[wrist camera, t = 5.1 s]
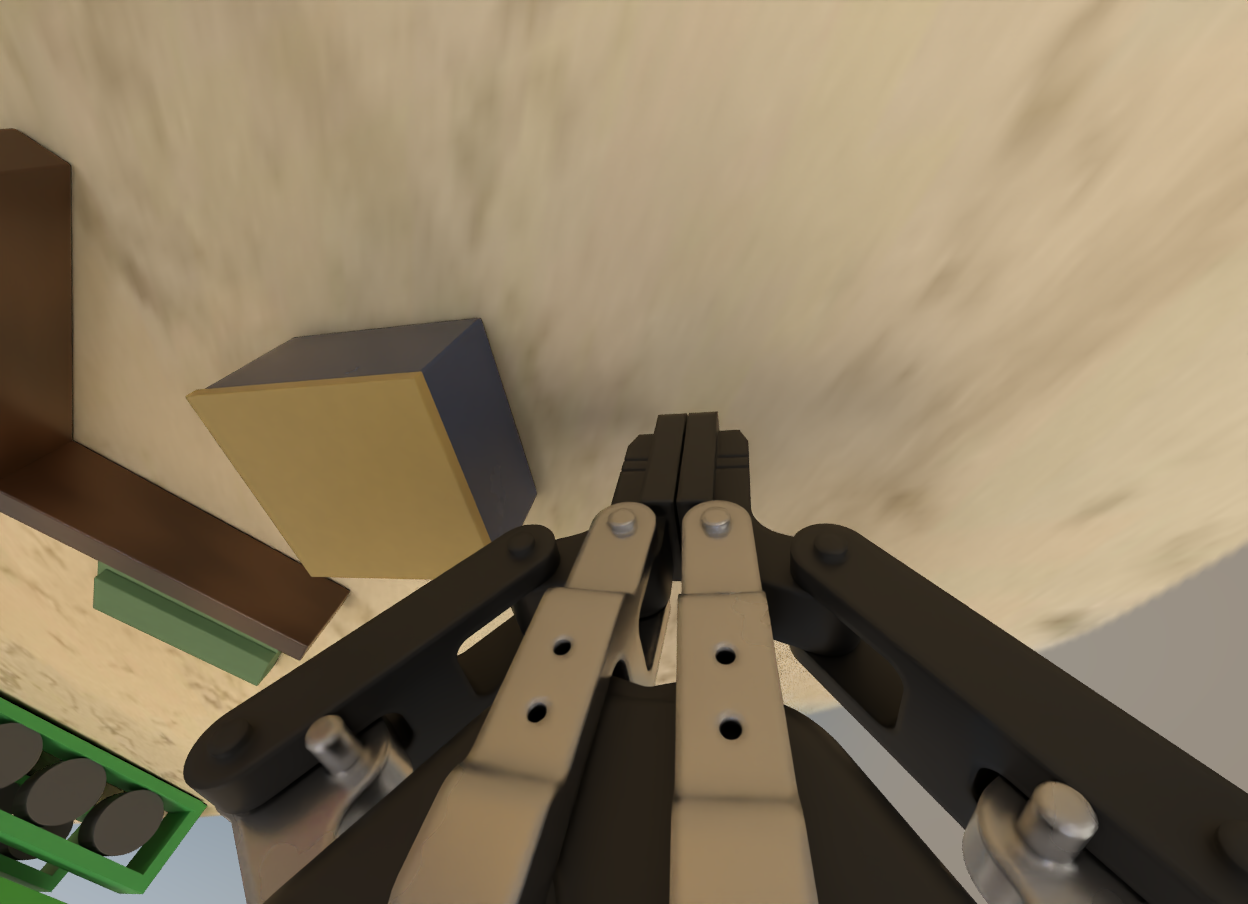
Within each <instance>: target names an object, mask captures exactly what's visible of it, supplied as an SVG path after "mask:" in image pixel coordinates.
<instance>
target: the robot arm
mask: <svg viewBox="0 0 1248 904" xmlns="http://www.w3.org/2000/svg"><path fill="white" fill-rule="evenodd" d="M624 460H625V461H624V462H623V465H622V469H621V470H622V471H621V472H620V476H619V479H618V483H617V486H616V489H615V493H614V496H613V500H612V503H611V506H609V507H607V508H605V509H603V510H602V511H600V512H599V513H598V514H597V515H596V516H595V518H594V519H593V521H592V523H591V526H590V528H589V530H588V531H586V532H583V533H580V534H577V535H573V536H569V537H565V538H561V539H557V540H555V537H554V534H553V533H552V531H551V530H550V529H548V528H546V527H544V526H541V525H533V524H531V525H524V526H520V527H516V528H514V529H512V530H510V531H508V532H506V533H505V534H503V535H501V536H500V537H498V538H497V539H495V540H494V541H492V542H491V543H489V544H487V545H486V546H484V547H483V548H481V549H480V550H478V551H477V552H475V553H474V554H472V555H470V556H469V557H467V558H466V559H464V560H463V561H461V562H460V563H458V564H457V565H455V566H453V567H452V568H450V569H449V570H447V571H446V572H444V573H443V574H441V575H440V576H438V577H436V578H435V579H433V580H432V581H430V582H429V583H427V584H426V585H424V586H423V587H421V588H419V589H418V590H416V591H415V592H413V593H412V594H410V595H409V596H407V597H406V598H404V599H402V600H401V601H399V602H398V603H396V604H395V605H393V606H392V607H390V608H389V609H387V610H385V611H384V612H382V613H381V614H379V615H378V616H376V617H375V618H373V619H371V620H370V621H368V622H367V623H365V624H364V625H362V626H361V627H359V628H358V629H356V630H354V631H353V632H351V633H350V634H348V635H347V636H345V637H344V638H342V639H341V640H339V641H337V642H336V643H334V644H333V645H331V646H330V647H328V648H327V649H325V650H324V651H322V652H320V653H319V654H317V655H316V656H314V657H313V658H311V659H310V660H308V661H307V662H305V663H303V664H302V665H300V666H299V667H297V668H296V669H294V670H293V671H291V672H290V673H288V674H286V675H285V676H283V677H282V678H280V679H279V680H277V681H276V682H274V683H273V684H271V685H269V686H268V687H266V688H265V689H263V690H262V691H260V692H259V693H257V694H256V695H254V696H252V697H251V698H249V699H248V700H246V701H245V702H243V703H242V704H240V705H238V706H237V707H235V708H234V709H232V710H231V711H229V712H228V713H226V714H225V715H223V716H222V717H221V718H219V719H218V720H217V721H216V722H214V723H213V724H212V725H211V726H210V727H209V728H208V729H207V730H206V731H205V732H204V733H203V734H202V735H201V736H200V738H199V739H198V740H197V742H196V743H195V744H194V746H193V747H192V749H191V751H190V752H189V754H188V757H187V759H186V762H185V765H184V771H183V775H184V780H185V782H186V783H187V784H188V785H189V786H190V787H191V788H192V789H194V790H195V791H196V792H197V793H199V794H200V795H201V796H203V797H204V798H205V799H206V800H208V801H209V802H210V803H212V804H213V805H214V806H215V808H216V810H217V811H218V812H219V813H220V814H221V815H222V816H223V817H225V818H226V819H227V820H229V821H230V822H231V823H232V828H233V833H234V838H235V844H236V849H237V854H238V860H239V864H240V870H241V876H242V881H243V886H244V891H245V897H246V902H247V904H977V903H976V902H975V901H974V899H973V898H972V897H971V896H970V895H969V894H968V893H967V891H966V890H965V889H964V888H963V887H962V886H961V884H960V883H959V882H958V881H957V880H956V879H955V878H954V876H953V875H952V874H951V873H950V872H949V870H948V869H947V868H946V867H945V866H944V865H943V864H942V862H941V861H940V860H939V859H938V858H937V857H936V856H935V854H934V853H933V852H932V851H931V850H930V848H929V847H928V846H927V845H926V844H925V843H924V842H923V840H922V839H921V838H920V837H919V836H918V835H917V833H916V832H915V831H914V830H913V829H912V828H911V827H910V825H909V824H908V823H907V822H906V821H905V820H904V818H903V817H902V816H901V815H900V814H899V813H898V811H897V810H896V809H895V808H894V807H893V806H892V805H891V803H890V802H889V801H888V800H887V799H886V797H885V796H884V795H883V794H882V793H881V792H880V790H878V788H877V787H876V786H875V785H874V784H873V782H872V781H871V780H870V779H869V778H868V777H867V775H866V774H865V773H864V772H863V771H862V770H861V768H860V767H859V766H858V765H857V764H856V763H855V761H854V760H853V759H852V758H851V757H850V756H849V755H848V753H847V752H846V751H845V750H844V749H843V748H842V746H841V745H840V744H839V743H838V742H837V741H836V740H835V739H834V738H833V737H832V736H831V735H830V734H829V733H827V732H826V731H825V730H824V729H823V728H822V727H820V726H819V725H818V724H817V723H815V722H814V721H812V720H811V719H810V718H808V717H807V716H805V715H803V714H802V713H800V712H798V711H796V710H795V709H793V708H790V707H788V706H786V705H784V704H783V698H782V691H781V685H780V679H779V673H778V666H777V660H776V654H775V648H774V642H773V640H776V641H779V642H782V643H785V644H788V645H790V649H791V652H792V653H793V655H794V657H795V658H796V659H797V660H798V661H799V662H800V663H801V664H802V665H803V666H804V667H805V668H806V669H807V670H808V671H809V672H810V673H811V674H812V675H813V676H814V677H815V678H816V679H817V680H818V681H819V682H820V683H821V684H822V686H823V687H824V688H825V689H826V690H827V691H828V692H829V693H830V694H831V695H832V696H833V697H834V698H835V699H836V700H837V701H838V702H839V703H840V704H841V705H842V706H843V707H844V708H845V709H846V710H847V711H848V712H849V713H850V714H851V715H852V716H853V717H854V718H855V719H856V720H857V721H858V722H859V723H860V724H861V725H862V726H863V727H864V728H865V729H866V730H867V731H868V732H869V733H870V734H871V735H872V736H873V737H874V738H875V739H876V740H877V741H878V742H879V743H880V744H881V745H882V746H883V747H884V748H885V749H886V750H887V751H888V752H889V753H890V754H891V755H892V756H893V757H894V758H895V759H896V760H897V761H898V762H899V763H900V764H901V766H903V768H904V769H905V770H907V771H908V773H909V774H910V775H911V776H912V777H913V778H914V779H915V780H916V781H917V782H918V783H919V784H920V785H921V786H922V787H923V788H924V789H925V790H926V791H927V792H928V793H929V794H930V795H931V796H932V797H933V798H934V799H935V800H936V801H937V802H938V803H939V804H940V805H941V806H942V807H943V808H944V809H945V810H946V811H947V812H948V813H949V814H950V815H951V816H952V817H953V818H954V819H955V820H956V821H957V822H958V823H959V824H960V825H961V826H962V827H963V828H964V829H965V832H964V836H963V841H962V843H963V844H962V850H963V856H964V861H965V865H966V867H967V870H968V873H969V875H970V877H971V879H972V881H973V883H974V884H975V886H976V888H977V889H978V891H979V892H980V893H981V895H982V896H983V898H984V899H985V900H986V901H987V903H988V904H1248V793H1246V792H1245V791H1243V790H1242V789H1240V788H1239V787H1237V786H1236V785H1234V784H1232V783H1231V782H1230V781H1228V780H1226V779H1225V778H1224V777H1222V776H1221V775H1219V774H1218V773H1216V772H1215V771H1213V770H1212V769H1210V768H1209V767H1207V766H1206V765H1204V764H1203V763H1201V762H1200V761H1198V760H1197V759H1195V758H1194V757H1192V756H1190V755H1189V754H1188V753H1186V752H1185V751H1183V750H1182V749H1180V748H1179V747H1177V746H1176V745H1174V744H1173V743H1171V742H1170V741H1168V740H1167V739H1165V738H1164V737H1162V736H1161V735H1159V734H1158V733H1156V732H1155V731H1153V730H1152V729H1150V728H1149V727H1147V726H1146V725H1144V724H1143V723H1141V722H1140V721H1138V720H1137V719H1135V718H1134V717H1132V716H1131V715H1129V714H1128V713H1126V712H1125V711H1123V710H1122V709H1120V708H1119V707H1117V706H1116V705H1114V704H1113V703H1111V702H1110V701H1108V700H1107V699H1105V698H1104V697H1102V696H1101V695H1099V694H1098V693H1096V692H1095V691H1093V690H1092V689H1090V688H1089V687H1088V686H1086V685H1084V684H1083V683H1081V682H1080V681H1078V680H1077V679H1076V678H1074V677H1072V676H1071V675H1070V674H1068V673H1066V672H1065V671H1063V670H1062V669H1060V668H1059V667H1057V666H1056V665H1054V664H1053V663H1051V662H1050V661H1049V660H1047V659H1045V658H1044V657H1043V656H1041V655H1040V654H1038V653H1037V652H1035V651H1034V650H1032V649H1031V648H1029V647H1028V646H1026V645H1025V644H1023V643H1022V642H1020V641H1019V640H1017V639H1016V638H1014V637H1013V636H1011V635H1010V634H1008V633H1007V632H1005V631H1004V630H1002V629H1001V628H999V627H998V626H996V625H995V624H993V623H992V622H990V621H989V620H987V619H986V618H984V617H983V616H981V615H980V614H978V613H977V612H975V611H974V610H972V609H971V608H969V607H968V606H966V605H965V604H963V603H962V602H960V601H959V600H957V599H956V598H954V597H953V596H951V595H950V594H948V593H947V592H945V591H944V590H942V589H941V588H939V587H938V586H936V585H935V584H933V583H932V582H930V581H929V580H927V579H926V578H924V577H923V576H921V575H920V574H918V573H917V572H915V571H914V570H912V569H911V568H909V567H908V566H907V565H905V564H904V563H902V562H901V561H899V560H898V559H896V558H895V557H893V556H892V555H890V554H889V553H887V552H886V551H884V550H883V549H881V548H880V547H878V546H877V545H875V544H874V543H872V542H871V541H869V540H868V539H866V538H865V537H863V536H862V535H860V534H859V533H857V532H855V531H854V530H852V529H849V528H847V527H844V526H840V525H835V524H816V525H811V526H808V527H806V528H803V529H802V530H800V531H799V532H797V533H796V534H795V536H794V537H792V536H788V535H784V534H780V533H777V532H774V531H771V530H769V529H767V528H766V527H764V526H763V525H761V524H760V523H759V522H758V521H757V520H756V519H755V517H754V516H753V514H752V511H751V497H750V472H749V446H748V440H747V439H746V438H745V436H744V435H743V434H742V433H741V432H740V430H727V431H719V419H718V412H700V413H689V414H688V415H687V413H683V414H665V415H658V418H657V422H656V427H655V431H654V434H643V435H638V437H637V438H636V439H635V440H634V441H633V442H632V443H631V444H630V445H629V446H628V448H627V452H626V455H625V459H624ZM672 581H682V592H681V594H679V595H678V610H677V675H676V682H674V683H669V684H663V685H658V686H655V682H656V677H657V672H658V667H659V663H660V658H661V653H662V648H663V644H664V639H665V634H666V630H667V625H668V620H669V616H670V610H671V606H670V595H671V588H672ZM510 607H511V608H512V611H513V613H514V616H512V617H511V618H510V619H508V620H507V621H506V622H504V623H503V624H501V625H500V626H499V627H497V628H496V629H495V630H493V631H492V632H491V633H489V634H488V635H487V636H485V637H484V638H483V639H481V640H480V641H479V642H477V643H476V644H475V645H473V646H472V647H471V648H469V649H468V650H467V651H465V652H464V653H462V654H460V655H457V653H458V650H459V648H460V646H461V645H462V643H463V642H464V641H465V640H466V639H467V638H469V637H470V636H471V635H473V634H474V633H475V632H477V631H478V630H480V629H481V628H482V627H484V626H485V625H486V624H488V623H489V622H490V621H492V620H493V619H495V618H496V617H497V616H499V615H500V614H501V613H503V612H504V611H505V610H507V609H508V608H510Z"/></svg>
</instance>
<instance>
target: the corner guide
mask: <svg viewBox="0 0 1248 904" xmlns="http://www.w3.org/2000/svg"><path fill="white" fill-rule="evenodd" d="M0 512H2V513H4V514H6V515H8V516H10V517H12V518H14V519H16V520H18V521H20V522H22V523H24V524H26V525H28V526H30V527H32V528H34V529H36V530H38V531H40V532H42V533H44V534H46V535H48V536H50V537H52V538H54V539H56V540H58V541H60V542H62V543H64V544H66V545H68V546H70V547H72V548H74V549H76V550H78V551H80V552H82V553H84V554H86V555H88V556H90V557H92V558H94V559H96V560H98V561H100V562H102V563H104V564H106V565H108V566H110V567H112V568H114V569H116V570H118V571H120V572H122V573H124V574H126V575H128V576H130V577H132V578H134V579H136V580H138V581H140V582H142V583H144V584H146V585H148V586H150V587H152V588H154V589H156V590H158V591H160V592H162V593H164V594H166V595H168V596H170V597H172V598H174V599H176V600H178V601H180V602H182V603H184V604H186V605H188V606H190V607H192V608H194V609H196V610H198V611H200V612H202V613H204V614H206V615H208V616H210V617H212V618H214V619H216V620H218V621H220V622H222V623H224V624H226V625H228V626H230V627H232V628H234V629H237V630H239V631H241V632H243V633H245V634H247V635H249V636H251V637H253V638H255V639H257V640H259V641H261V642H263V643H265V644H267V645H269V646H271V647H273V648H275V649H277V650H279V651H281V652H283V653H285V654H287V655H289V656H291V657H293V658H295V659H297V660H301V659H302V658H303V656H304V655H305V654H306V652H307V651H308V650H309V648H310V647H311V646H312V644H313V643H314V642H315V640H316V639H317V638H318V636H319V635H320V634H321V632H322V631H323V630H324V628H325V627H326V626H327V624H328V623H329V622H330V620H331V619H332V618H333V616H334V615H335V614H336V612H337V611H338V610H339V608H340V607H341V606H342V604H343V603H344V601H345V599H346V598H347V596H348V595H349V593H350V591H349V590H347V589H346V588H344V587H342V586H340V585H338V584H336V583H334V582H333V581H331V580H329V579H327V578H325V577H311V576H310V574H309V573H308V571H307V570H306V569H305V567H304V566H303V565H301V564H299V563H298V562H296V561H294V560H292V559H290V558H288V557H286V556H285V555H283V554H281V553H279V552H277V551H275V550H274V549H272V548H270V547H268V546H266V545H264V544H263V543H261V542H259V541H257V540H255V539H253V538H251V537H250V536H248V535H246V534H244V533H242V532H240V531H239V530H237V529H235V528H233V527H231V526H229V525H227V524H226V523H224V522H222V521H220V520H218V519H216V518H215V517H213V516H211V515H209V514H207V513H205V512H203V511H202V510H200V509H198V508H196V507H194V506H192V505H191V504H189V503H187V502H185V501H183V500H181V499H179V498H178V497H176V496H174V495H172V494H170V493H168V492H167V491H165V490H163V489H161V488H159V487H157V486H155V485H154V484H152V483H150V482H148V481H146V480H144V479H143V478H141V477H139V476H137V475H135V474H133V473H131V472H130V471H128V470H126V469H124V468H122V467H120V466H119V465H117V464H115V463H113V462H111V461H109V460H108V459H106V458H104V457H102V456H100V455H98V454H96V453H95V452H93V451H91V450H89V449H87V448H85V447H84V446H82V445H80V444H78V443H76V442H74V441H72V297H71V166H70V165H69V163H67V162H65V161H64V160H62V159H61V158H59V157H58V156H56V155H55V154H53V153H52V152H50V151H49V150H47V149H46V148H44V147H43V146H41V145H40V144H38V143H36V142H35V141H33V140H32V139H30V138H29V137H27V136H26V135H24V134H23V133H21V132H20V131H18V130H16V129H13V128H12V129H0Z"/></svg>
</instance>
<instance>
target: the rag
mask: <svg viewBox="0 0 1248 904" xmlns="http://www.w3.org/2000/svg"><path fill="white" fill-rule="evenodd" d="M93 608H94V609H96V610H98V611H100V612H103V613H105V614H107V615H109V616H111V617H113V618H115V619H117V620H119V621H121V622H123V623H126V624H128V625H130V626H132V627H134V628H136V629H138V630H140V631H142V632H144V633H147V634H149V635H151V636H153V637H155V638H157V639H159V640H161V641H163V642H165V643H168V644H170V645H172V646H174V647H176V648H178V649H180V650H182V651H184V652H186V653H188V654H191V655H193V656H195V657H197V658H199V659H201V660H203V661H205V662H207V663H209V664H212V665H214V666H216V667H218V668H220V669H222V670H224V671H226V672H228V673H230V674H232V675H235V676H237V677H239V678H241V679H243V680H245V681H247V682H249V683H251V684H253V685H256V686H258V685H259V683H260V682H261V681H262V680H263V678H264V677H265V676H266V675H267V674H268V673H269V671H270V670H271V669H272V668H273V666H274V665H275V663H276V661H277V659H278V657H279V655H280V653H281V651H279V650H277V649H275V648H273V647H271V646H269V645H267V644H265V643H263V642H261V641H259V640H257V639H255V638H253V637H251V636H249V635H247V634H245V633H243V632H241V631H239V630H237V629H234V628H232V627H230V626H228V625H226V624H224V623H222V622H220V621H218V620H216V619H214V618H212V617H210V616H208V615H206V614H204V613H202V612H200V611H198V610H196V609H194V608H192V607H190V606H188V605H186V604H184V603H182V602H180V601H178V600H176V599H174V598H172V597H170V596H168V595H166V594H164V593H162V592H160V591H158V590H156V589H154V588H152V587H150V586H148V585H146V584H144V583H142V582H140V581H138V580H136V579H134V578H132V577H130V576H128V575H126V574H124V573H122V572H120V571H118V570H116V569H114V568H112V567H110V566H108V565H106V564H104V563H102V562H100V561H98V575H97V576H96V577H95V578H94V599H93Z"/></svg>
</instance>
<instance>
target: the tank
mask: <svg viewBox="0 0 1248 904" xmlns="http://www.w3.org/2000/svg"><path fill="white" fill-rule="evenodd" d="M42 750H43V751H45V752H47V753H49V754H51V755H53V756H55V757H57V758H59V759H61V760H63V762H59V763H55V764H52V765H49V766H47V767H45V768H43V769H41V770H39V771H37V772H36V773H34V774H33V775H32V776H28V775H26V774H27V773H28V772H29V771H30V770H31V769H32V768H33V766H34V765H35V764H36V762H37V761H38V759H39V757H40V755H41V752H42ZM106 782H108V783H110V784H112V785H114V786H116V787H118V788H120V789H122V790H124V791H126V792H124V793H119V794H115V795H112V796H110V797H108V798H106V799H104V800H102V801H101V802H100V803H98V804H97V805H96V806H95V807H94V805H95V804H96V802H97V801H98V800H99V798H100V797H101V795H102V793H103V791H104V789H105V786H106ZM206 807H207V805H205V804H203V803H202V802H201V801H200V800H198V799H196V798H194V797H192V796H190V795H188V794H186V793H184V792H182V791H180V790H178V789H176V788H174V787H172V786H171V785H169V784H167V783H165V782H163V781H161V780H159V779H157V778H155V777H153V776H151V775H149V774H147V773H145V772H143V771H142V770H140V769H138V768H136V767H134V766H132V765H130V764H128V763H126V762H124V761H122V760H120V759H118V758H116V757H115V756H113V755H111V754H109V753H107V752H105V751H103V750H101V749H99V748H97V747H95V746H93V745H91V744H89V743H87V742H86V741H84V740H82V739H80V738H78V737H76V736H74V735H72V734H70V733H68V732H66V731H64V730H62V729H60V728H58V727H57V726H55V725H53V724H51V723H49V722H47V721H45V720H43V719H41V718H39V717H37V716H35V715H33V714H31V713H30V712H28V711H26V710H24V709H22V708H20V707H18V706H16V705H14V704H12V703H10V702H8V701H6V700H4V699H2V698H1V697H0V904H67V903H64V902H62V901H59V900H57V899H54V898H52V897H50V896H47V895H45V894H42V893H40V892H51V891H52V890H53V889H54V888H55V887H56V885H57V884H58V883H59V882H60V881H61V880H62V878H63V877H64V876H65V875H66V874H67V872H71V873H73V874H75V875H77V876H80V877H82V878H84V879H87V880H89V881H92V882H94V883H96V884H98V885H100V886H103V887H105V888H107V889H110V890H112V891H114V892H117V893H120V894H124V893H125V894H143V893H144V892H145V890H146V889H147V887H148V886H149V885H150V883H151V882H152V881H153V879H154V878H155V877H156V875H157V874H158V873H159V871H160V870H161V868H162V867H163V865H164V864H165V863H166V861H167V860H168V859H169V857H170V856H171V855H172V853H173V852H174V851H175V849H176V848H177V847H178V845H179V844H180V842H181V841H182V840H183V838H184V837H185V835H186V834H187V833H188V831H189V830H190V829H191V827H192V826H193V825H194V823H195V822H196V820H197V819H198V818H199V816H200V815H201V814H202V812H203V811H204V810H205V808H206ZM164 811H166V812H168V813H167V815H166V816H165V817H164V819H163V820H162V818H163V813H164ZM12 814H13V815H14V816H13V815H12ZM75 819H76V820H78V821H80V822H82V823H81V825H80V826H79V827H78V828H77V829H76V831H75V832H74V833H73V834H72V835H71V836H70V838H68V840H66V837H67V836H68V835H69V833H70V831H71V829H72V826H73V821H74V820H75ZM142 845H143V846H142ZM140 846H142V847H141V848H140V850H139V851H138V852H137V853H136V855H135V856H134V857H133V859H132V860H131V861H130V862H129V864H128V865H127V866H126V867H125V866H123V865H120V864H118V863H116V862H114V861H112V860H109V859H107V858H105V857H103V856H118V855H124V854H127V853H130V852H132V851H134V850H136V849H138V848H139V847H140ZM36 858H38V859H40V860H42V861H45V862H47V863H46V865H45V866H44V867H43V868H42V869H41V870H40V871H39V870H37V869H35V868H32V867H30V866H27V865H25V864H22V863H20V862H18V861H16V860H30V859H36Z"/></svg>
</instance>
